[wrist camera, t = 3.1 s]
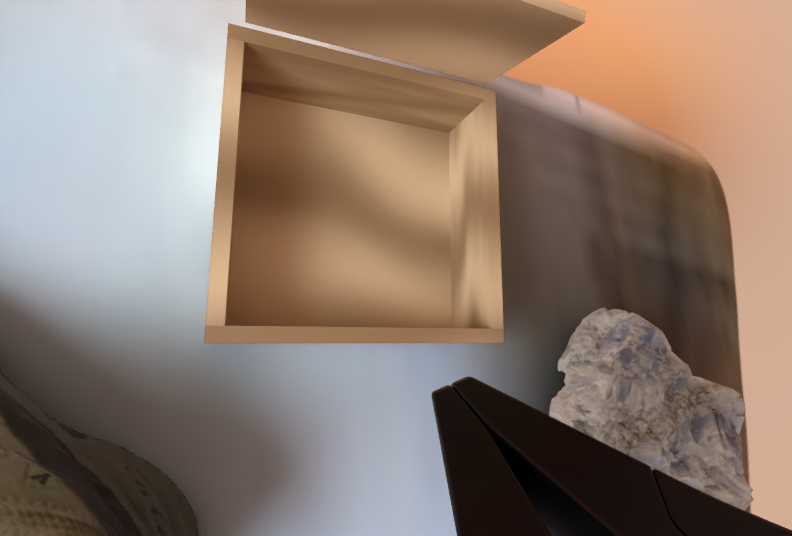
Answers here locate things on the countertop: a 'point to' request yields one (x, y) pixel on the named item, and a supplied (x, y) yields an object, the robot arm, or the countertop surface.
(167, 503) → the hiking shoe
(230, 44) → the carton
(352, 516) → the countertop surface
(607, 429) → the rock
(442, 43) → the flap
